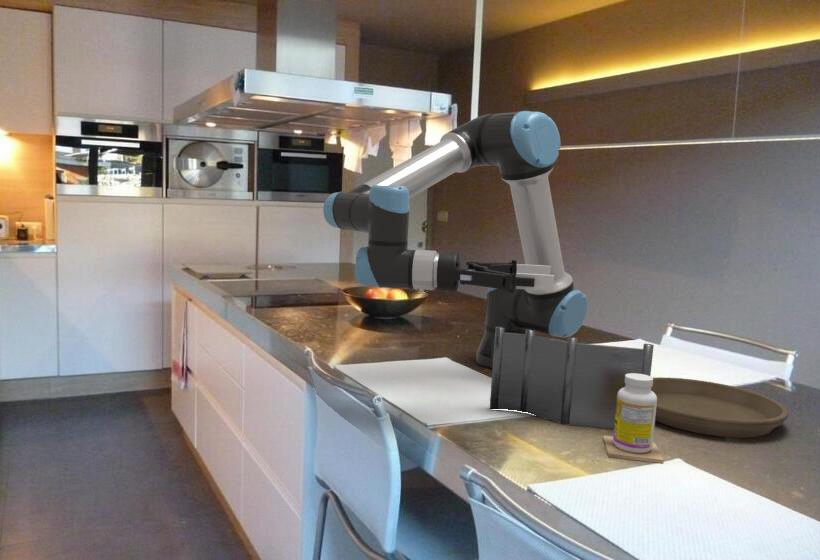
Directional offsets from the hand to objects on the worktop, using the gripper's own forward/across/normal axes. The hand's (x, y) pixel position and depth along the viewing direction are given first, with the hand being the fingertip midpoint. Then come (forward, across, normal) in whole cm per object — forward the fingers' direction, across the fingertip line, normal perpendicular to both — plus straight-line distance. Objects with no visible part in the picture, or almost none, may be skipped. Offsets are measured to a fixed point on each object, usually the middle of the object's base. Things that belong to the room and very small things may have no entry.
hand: (552, 277), depth 126 cm
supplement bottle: (+15, +7, -28) cm, 33 cm away
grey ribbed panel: (+5, -6, -29) cm, 30 cm away
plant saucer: (+34, -18, -30) cm, 49 cm away
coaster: (+15, +7, -29) cm, 34 cm away
